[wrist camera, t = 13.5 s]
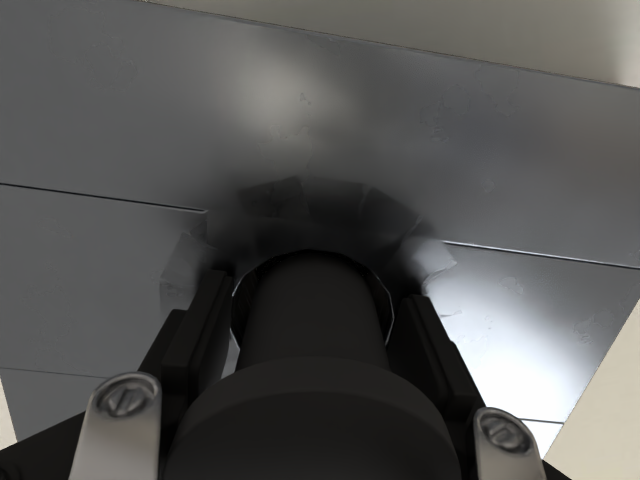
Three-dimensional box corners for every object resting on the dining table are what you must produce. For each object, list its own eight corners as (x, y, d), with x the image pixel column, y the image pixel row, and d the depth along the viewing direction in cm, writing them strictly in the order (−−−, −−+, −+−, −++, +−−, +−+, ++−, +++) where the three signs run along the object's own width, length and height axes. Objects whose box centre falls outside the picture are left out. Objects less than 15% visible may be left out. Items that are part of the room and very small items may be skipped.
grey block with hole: (31, -9, 12) (-114, -44, 8) (622, 93, 14) (754, 108, 10) (85, 374, 19) (21, 462, 15) (477, 412, 20) (518, 501, 16)
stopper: (234, 217, 12) (156, 372, 6) (415, 241, 12) (507, 408, 6) (225, 359, 14) (163, 569, 8) (376, 375, 14) (418, 585, 9)
